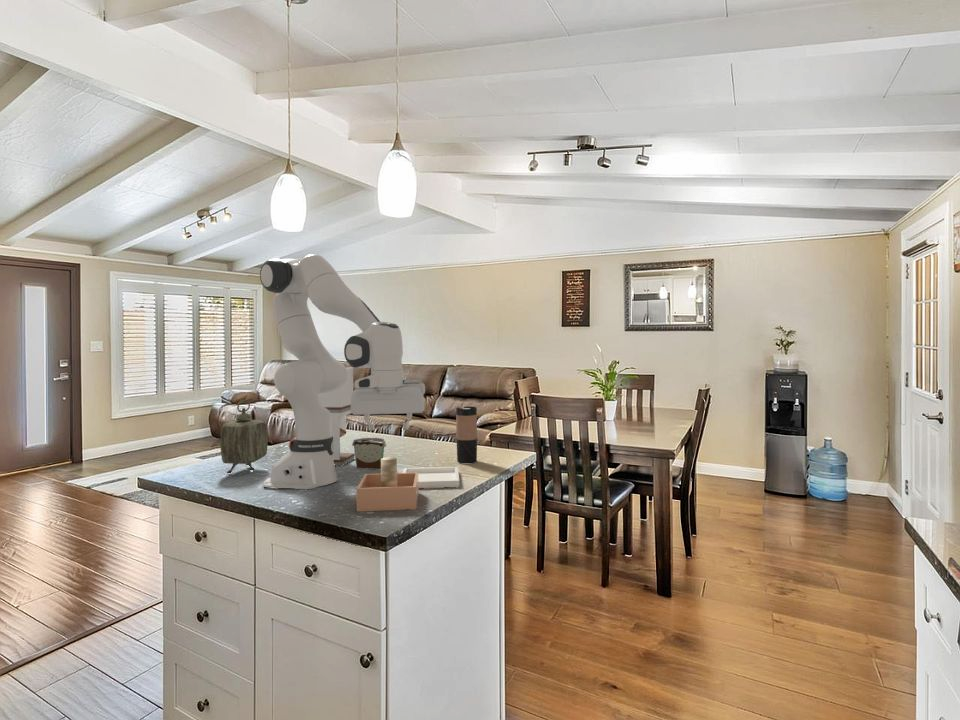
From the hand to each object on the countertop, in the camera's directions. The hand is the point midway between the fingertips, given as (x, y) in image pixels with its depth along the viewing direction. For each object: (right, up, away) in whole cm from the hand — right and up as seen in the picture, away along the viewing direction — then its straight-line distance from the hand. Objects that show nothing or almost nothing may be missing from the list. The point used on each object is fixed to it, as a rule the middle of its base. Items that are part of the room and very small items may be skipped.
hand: (388, 429), depth 149 cm
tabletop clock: (-56, -20, +37) cm, 70 cm away
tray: (+9, -19, +23) cm, 31 cm away
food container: (-13, -19, +42) cm, 48 cm away
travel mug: (+21, -18, +48) cm, 56 cm away
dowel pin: (0, -20, +1) cm, 20 cm away
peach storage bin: (0, -20, +1) cm, 20 cm away
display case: (-29, -19, +51) cm, 61 cm away
